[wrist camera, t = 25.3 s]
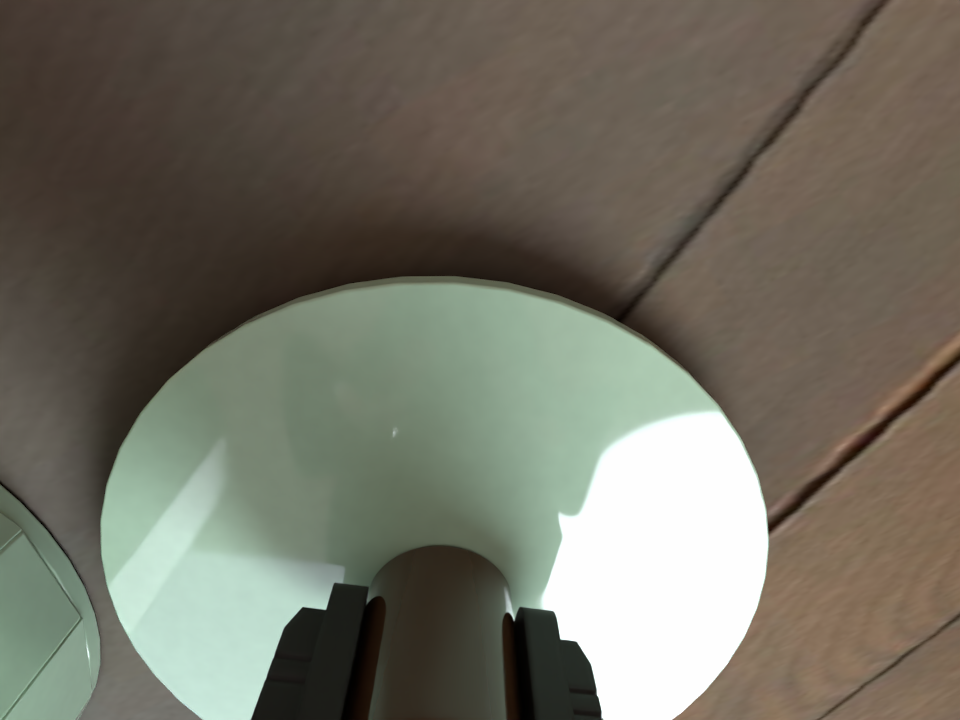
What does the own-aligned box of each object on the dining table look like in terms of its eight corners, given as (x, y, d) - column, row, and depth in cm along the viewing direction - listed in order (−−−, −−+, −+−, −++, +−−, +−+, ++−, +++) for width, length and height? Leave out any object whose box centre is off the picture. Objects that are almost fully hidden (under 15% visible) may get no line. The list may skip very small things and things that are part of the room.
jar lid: (143, 724, 16) (-65, 1111, 9) (105, 197, 10) (-477, 324, 4) (638, 774, 17) (733, 1140, 11) (857, 338, 11) (1315, 597, 5)
